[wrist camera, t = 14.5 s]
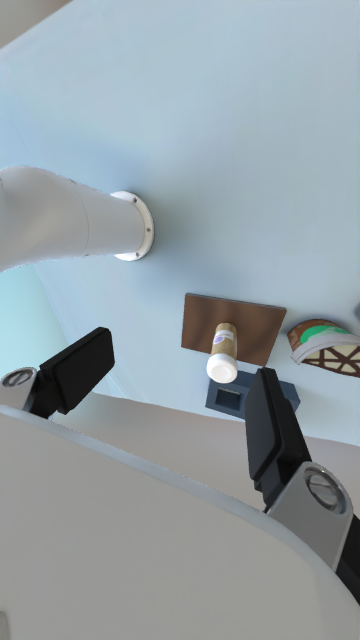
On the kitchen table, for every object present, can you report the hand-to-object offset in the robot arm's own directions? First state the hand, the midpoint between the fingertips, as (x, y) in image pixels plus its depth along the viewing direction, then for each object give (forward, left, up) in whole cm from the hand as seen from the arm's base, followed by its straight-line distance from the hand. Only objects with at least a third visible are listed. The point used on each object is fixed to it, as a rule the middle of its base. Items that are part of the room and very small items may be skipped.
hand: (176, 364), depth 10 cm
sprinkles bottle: (+4, -11, -26) cm, 28 cm away
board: (+4, -11, -27) cm, 29 cm away
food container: (+21, -7, -27) cm, 35 cm away
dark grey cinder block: (+12, -27, -27) cm, 40 cm away
